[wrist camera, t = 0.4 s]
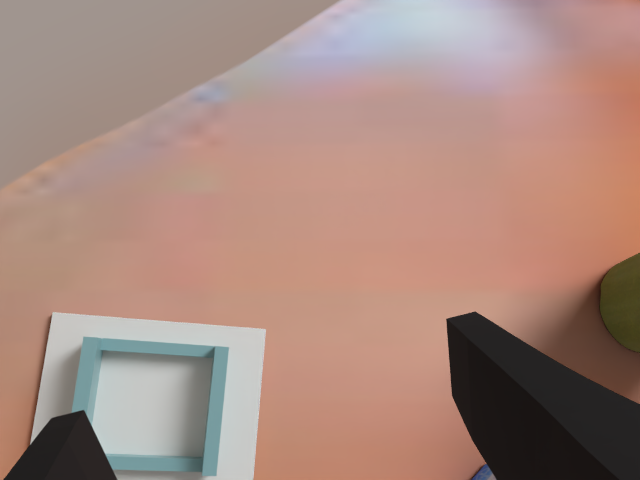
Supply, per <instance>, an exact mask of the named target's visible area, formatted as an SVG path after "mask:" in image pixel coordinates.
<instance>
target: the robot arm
mask: <svg viewBox="0 0 640 480" xmlns="http://www.w3.org/2000/svg"><path fill="white" fill-rule="evenodd" d="M446 320H447V334H448V347H449V360H450V373H451V387H452V397H453V399H454V401H455V403H456V406H457V408H458V410H459V412H460V414H461V417H462V419H463V421H464V423H465V425H466V427H467V430H468V432H469V434H470V436H471V438H472V440H473V442H474V444H475V445H476V447H477V449H478V450H479V452H480V454H481V455H482V457H483V458H484V460H485V462H486V463H487V465H488V467H489V468H490V470H491V472H492V473H493V475H494V476H495V478H496V480H640V404H638V403H636V402H634V401H631V400H629V399H627V398H625V397H623V396H621V395H619V394H617V393H615V392H613V391H611V390H609V389H607V388H605V387H603V386H601V385H599V384H597V383H595V382H593V381H591V380H589V379H587V378H586V377H584V376H582V375H580V374H578V373H576V372H575V371H573V370H571V369H569V368H567V367H565V366H564V365H562V364H560V363H558V362H557V361H555V360H553V359H552V358H550V357H548V356H546V355H545V354H543V353H541V352H540V351H538V350H536V349H535V348H533V347H531V346H530V345H528V344H526V343H525V342H523V341H522V340H520V339H518V338H517V337H515V336H514V335H512V334H510V333H509V332H507V331H506V330H504V329H502V328H501V327H499V326H498V325H496V324H495V323H493V322H491V321H490V320H488V319H487V318H485V317H483V316H482V315H480V314H478V313H477V312H472V313H468V314H464V315H460V316H456V317H452V318H448V319H446ZM4 480H117V478H116V476H115V474H114V471H113V469H112V467H111V465H110V463H109V461H108V459H107V457H106V455H105V453H104V450H103V448H102V446H101V444H100V442H99V440H98V438H97V436H96V434H95V432H94V430H93V427H92V425H91V423H90V421H89V419H88V417H87V415H86V413H85V411H84V410H81V411H77V412H73V413H69V414H65V415H61V416H57V417H53V418H51V419H50V420H49V422H48V423H47V424H46V425H45V427H44V428H43V429H42V430H41V432H40V433H39V434H38V435H37V437H36V438H35V439H34V441H33V442H32V443H31V444H30V446H29V447H28V448H27V450H26V451H25V452H24V454H23V455H22V456H21V458H20V459H19V460H18V462H17V463H16V464H15V465H14V467H13V468H12V469H11V471H10V472H9V473H8V475H7V476H6V477H5V478H4Z"/></svg>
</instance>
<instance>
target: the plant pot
mask: <svg viewBox="0 0 640 480" xmlns="http://www.w3.org/2000/svg"><path fill="white" fill-rule="evenodd" d="M599 307H600V312H601V316H602V318H603V321H604V323H605V325H606V327H607V329H608V331H609V332H610V333H611V335H612V336H613V337H614V338H615V339H616V340H617V341H618V342H619V343H620V344H622V345H623V346H624V347H626V348H628V349H630V350H633V351H636V352H639V353H640V253H638V254H636V255H634V256H632V257H630V258H628V259H626V260H624V261H622V262H620V263H618V264H616V265H615V266H614V267H612V268H611V269H610V270H609V271H608V273H607V274H606V275H605V277H604V279H603V281H602V283H601V298H600V306H599Z"/></svg>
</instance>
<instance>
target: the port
mask: <svg viewBox="0 0 640 480" xmlns="http://www.w3.org/2000/svg"><path fill="white" fill-rule="evenodd" d="M265 333H266V329H257V328H244V327H232V326H219V325H207V324H194V323H181V322H169V321H156V320H144V319H131V318H118V317H106V316H93V315H81V314H68V313H55V312H53V314H52V320H51V326H50V332H49V337H48V343H47V349H46V355H45V361H44V367H43V372H42V378H41V384H40V390H39V396H38V402H37V407H36V413H35V419H34V425H33V431H32V437H31V442H30V444H31V443H32V442H33V441H34V439H35V438H36V437H37V435H38V434H39V433H40V432H41V430H42V429H43V428H44V427H45V425H46V424H47V423H48V422H49V420H50V419H51V418H53V417H57V416H61V415H65V414H69V413H73V412H77V411H81V410H84V411H85V413H86V415H87V417H88V419H89V421H90V423H91V425H92V427H93V430H94V432H95V434H96V436H97V438H98V440H99V442H100V444H101V446H102V448H103V450H104V453H105V455H106V457H107V459H108V461H109V463H110V465H111V467H112V469H113V471H114V474H115V476H116V478H117V480H253V476H254V464H255V452H256V440H257V429H258V417H259V405H260V393H261V381H262V369H263V357H264V345H265Z"/></svg>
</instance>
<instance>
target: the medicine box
mask: <svg viewBox="0 0 640 480" xmlns="http://www.w3.org/2000/svg"><path fill="white" fill-rule="evenodd" d="M472 480H496V478H495V476H494V475H493V473H492V472H491V470H490V468H489V467H488V465H487V464H485V465H484V466H483V467H482V468H481V470H480V471H479V472H478V473H477V474H476V475H475V476H474V477H473V478H472Z"/></svg>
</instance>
